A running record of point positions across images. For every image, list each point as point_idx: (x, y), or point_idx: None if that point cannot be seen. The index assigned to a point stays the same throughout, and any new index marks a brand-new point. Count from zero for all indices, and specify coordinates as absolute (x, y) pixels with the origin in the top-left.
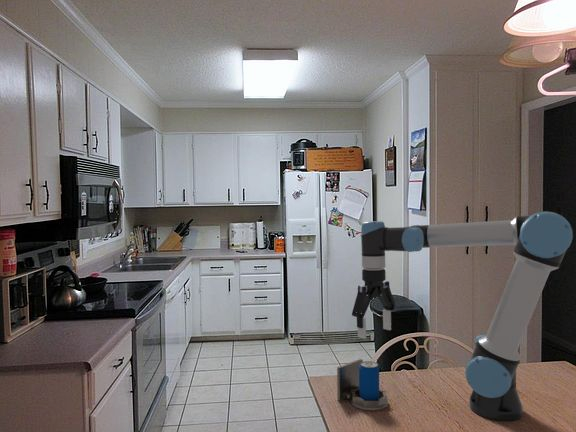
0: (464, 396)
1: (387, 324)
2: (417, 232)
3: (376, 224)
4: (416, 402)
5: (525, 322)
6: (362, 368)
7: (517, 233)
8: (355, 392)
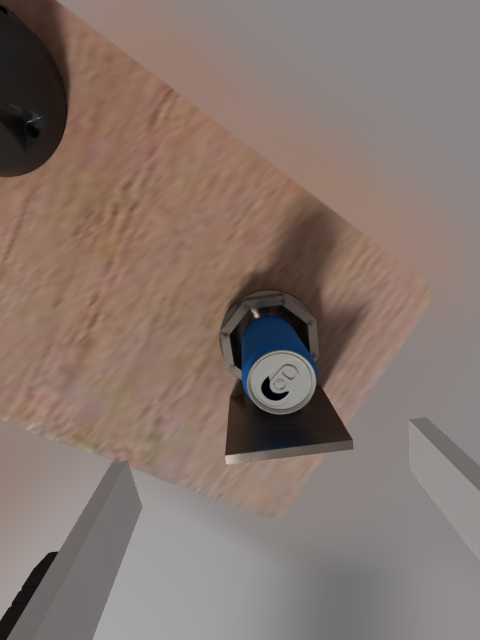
0: (8, 217)
1: (115, 511)
2: None
3: None
4: (159, 269)
5: None
6: (316, 377)
7: None
8: None
